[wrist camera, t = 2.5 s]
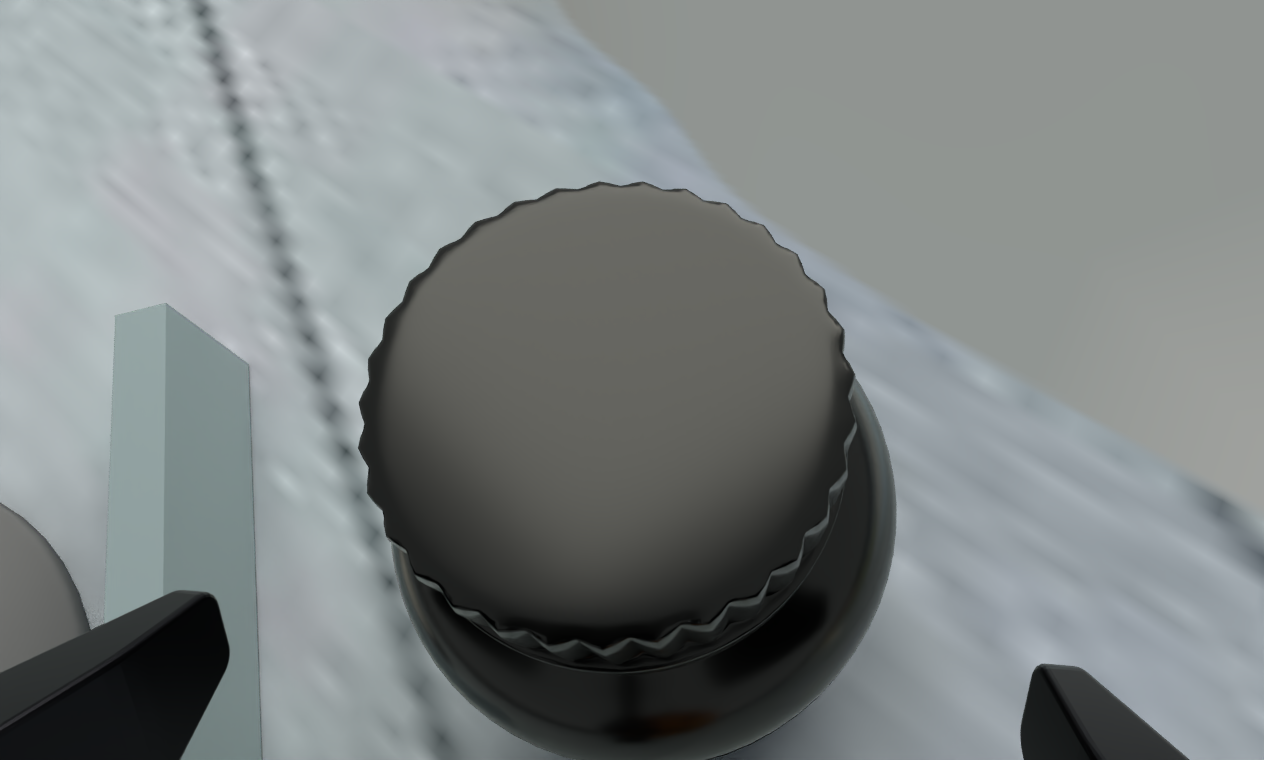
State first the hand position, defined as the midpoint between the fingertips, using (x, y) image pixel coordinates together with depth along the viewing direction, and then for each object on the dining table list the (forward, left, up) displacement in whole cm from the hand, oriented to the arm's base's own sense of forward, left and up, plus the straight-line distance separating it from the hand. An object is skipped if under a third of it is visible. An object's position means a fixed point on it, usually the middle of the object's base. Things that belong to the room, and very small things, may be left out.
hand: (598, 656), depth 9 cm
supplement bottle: (+2, +1, -10) cm, 10 cm away
